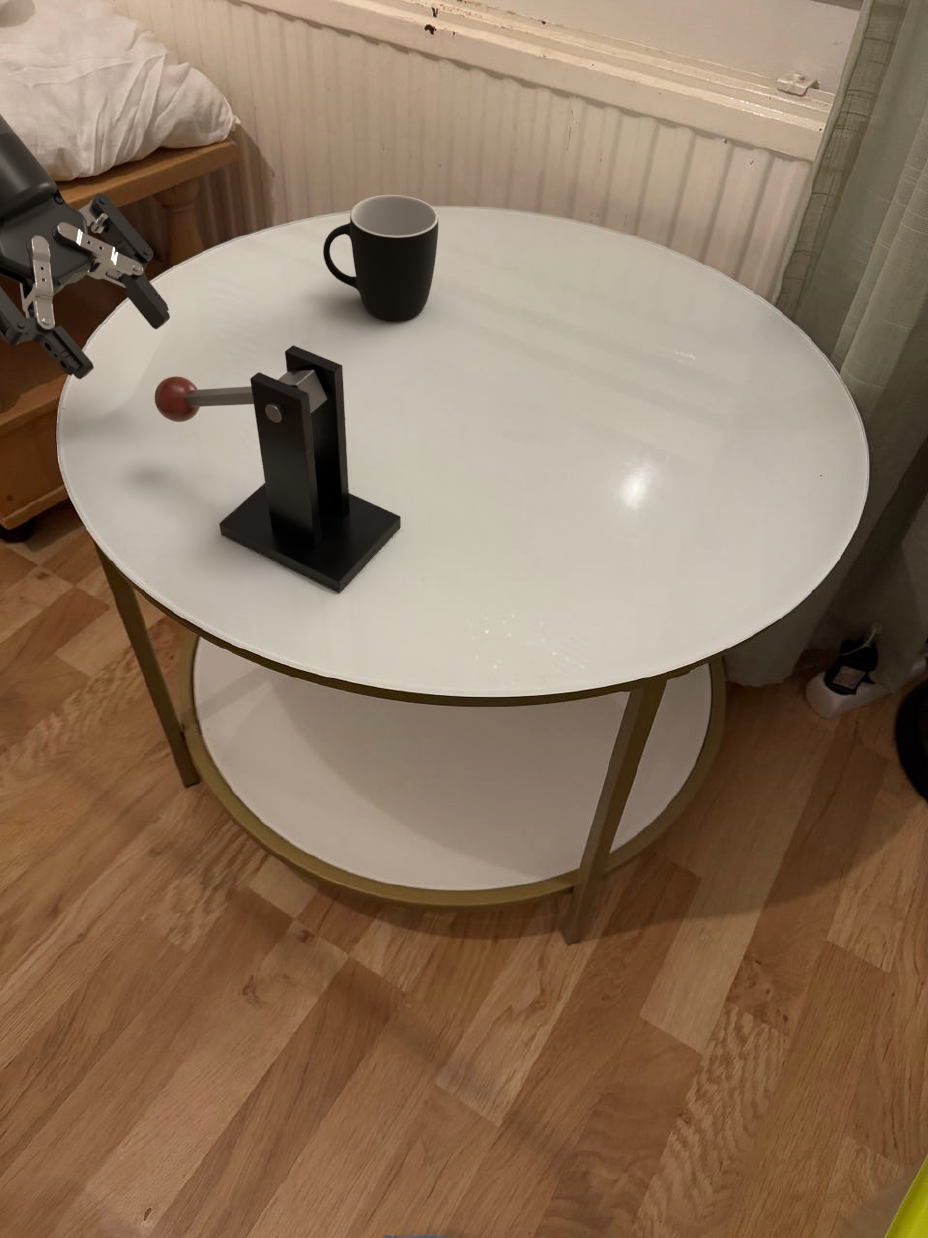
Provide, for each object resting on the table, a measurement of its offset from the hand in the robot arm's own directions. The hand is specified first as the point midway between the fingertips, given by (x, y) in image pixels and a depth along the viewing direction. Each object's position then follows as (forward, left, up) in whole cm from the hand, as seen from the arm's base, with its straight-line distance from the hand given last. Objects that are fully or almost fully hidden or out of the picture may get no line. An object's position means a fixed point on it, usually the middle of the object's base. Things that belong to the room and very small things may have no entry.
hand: (126, 347), depth 72 cm
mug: (+24, +22, -11) cm, 35 cm away
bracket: (+13, -12, -11) cm, 21 cm away
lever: (+9, -8, -2) cm, 12 cm away
